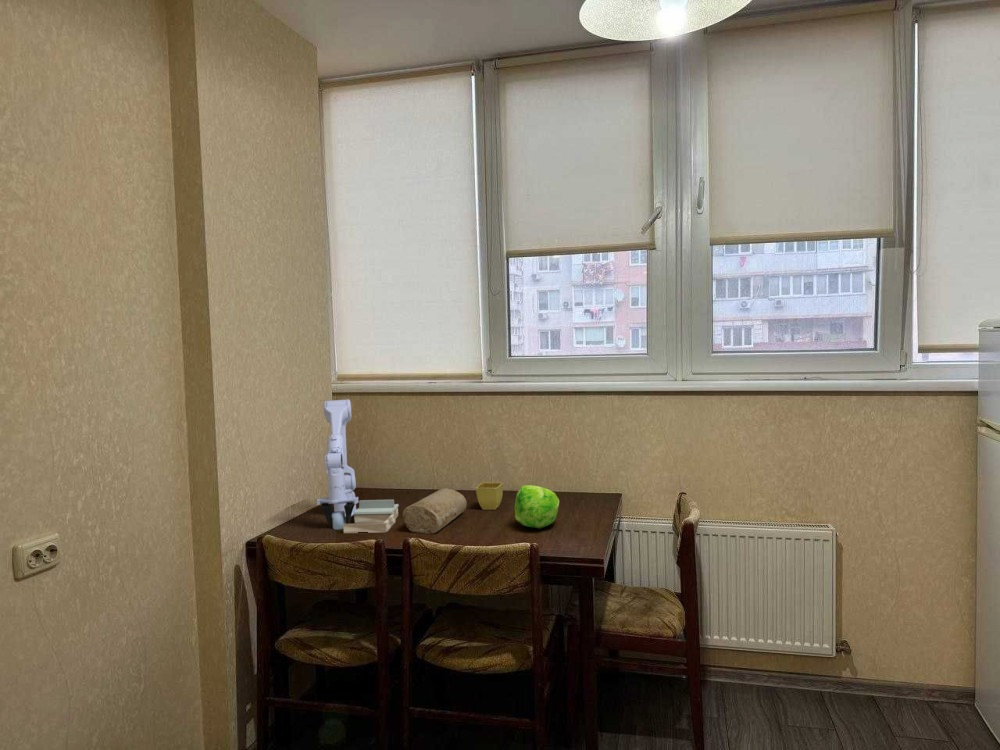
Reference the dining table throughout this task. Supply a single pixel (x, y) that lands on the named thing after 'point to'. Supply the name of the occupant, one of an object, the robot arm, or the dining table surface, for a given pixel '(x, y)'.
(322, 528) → the dining table surface
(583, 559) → the dining table surface
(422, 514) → the core sample
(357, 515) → the frame
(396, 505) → the lid
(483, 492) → the flower pot
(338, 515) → the pale blue cylinder
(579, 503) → the dining table surface
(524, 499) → the lettuce
